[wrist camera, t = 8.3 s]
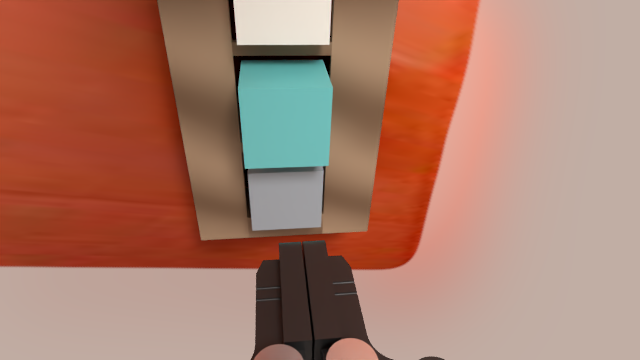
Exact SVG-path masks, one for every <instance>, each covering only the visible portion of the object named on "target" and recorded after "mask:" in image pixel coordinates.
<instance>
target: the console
mask: <svg viewBox="0 0 640 360" xmlns="http://www.w3.org/2000/svg"><path fill="white" fill-rule="evenodd" d="M398 1H399V0H333V6H332V27H331V40H330V44H329V45H237V40H232V33H231V22H230V11H229V0H157V2H158V8H159V13H160V19H161V24H162V30H163V35H164V40H165V46H166V51H167V57H168V62H169V68H170V73H171V78H172V84H173V89H174V95H175V100H176V106H177V111H178V117H179V122H180V127H181V133H182V138H183V144H184V149H185V155H186V160H187V166H188V171H189V176H190V182H191V187H192V193H193V198H194V204H195V209H196V215H197V220H198V225H199V231H200V236H201V240H215V239H233V238H252V237H270V236H288V235H306V234H324V233H343V232H361V231H367V229H368V221H369V214H370V207H371V199H372V192H373V185H374V177H375V170H376V163H377V155H378V148H379V141H380V133H381V126H382V119H383V111H384V104H385V97H386V89H387V82H388V75H389V67H390V60H391V53H392V45H393V38H394V31H395V23H396V16H397V9H398ZM313 55H330V67H329V78H330V81H331V84H332V86H333V96H332V114H331V132H330V150H329V166H325V169H324V184H323V194H322V215H321V227H313V228H295V229H276V230H257V231H252V220H251V208H250V196H249V188H245V179H244V168H243V157H242V152H243V142H242V138H241V134H240V123H239V112H238V100H237V89H236V78H235V67H234V56H313Z"/></svg>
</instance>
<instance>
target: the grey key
mask: <svg viewBox="0 0 640 360" xmlns="http://www.w3.org/2000/svg"><path fill="white" fill-rule="evenodd" d="M323 173H324V171H323V166H311V167H284V168H256V169H248V184H249V196H250V208H251V220H252V231H257V230H276V229H295V228H313V227H321V215H322V194H323Z"/></svg>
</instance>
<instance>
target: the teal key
mask: <svg viewBox="0 0 640 360" xmlns="http://www.w3.org/2000/svg"><path fill="white" fill-rule="evenodd" d="M238 96H239V107H240V119H241V130H242V142H243V153H244V165H245V169H256V168H284V167H311V166H329V150H330V132H331V114H332V96H333V86H332V84H331V81H330V78H329V75H328V73H327V70H326V67H325V64H324V61H323V60H241V67H240V76H239V84H238Z"/></svg>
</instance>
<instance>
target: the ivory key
mask: <svg viewBox="0 0 640 360" xmlns="http://www.w3.org/2000/svg"><path fill="white" fill-rule="evenodd" d="M233 1H234V14H235V26H236V38H237V45H329V44H330V23H331V2H332V0H233Z"/></svg>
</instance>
